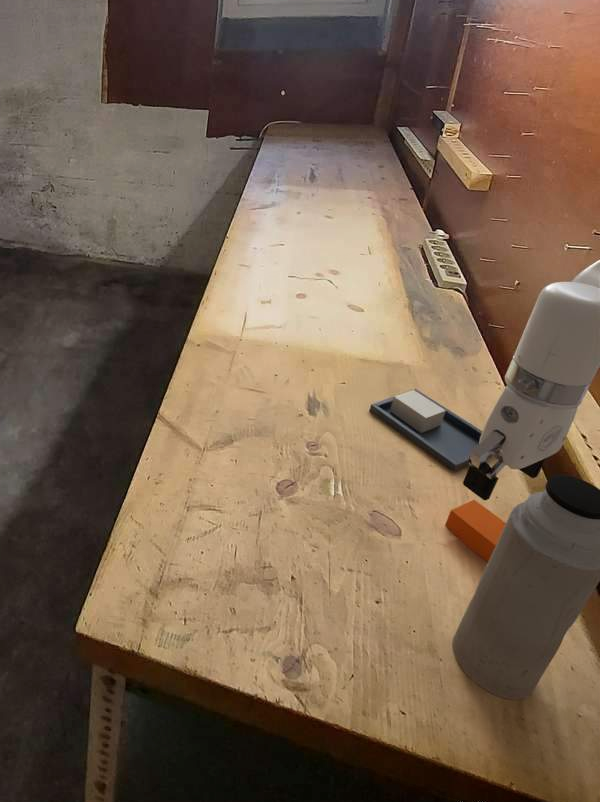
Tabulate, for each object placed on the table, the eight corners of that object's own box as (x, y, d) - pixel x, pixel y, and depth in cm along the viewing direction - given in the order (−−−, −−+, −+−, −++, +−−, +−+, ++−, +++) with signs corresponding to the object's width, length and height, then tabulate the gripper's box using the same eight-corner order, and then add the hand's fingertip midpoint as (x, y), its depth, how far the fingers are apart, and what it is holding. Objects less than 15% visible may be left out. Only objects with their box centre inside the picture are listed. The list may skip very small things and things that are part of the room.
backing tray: (412, 396, 110) (415, 388, 109) (500, 453, 96) (503, 444, 95) (368, 412, 106) (370, 404, 105) (452, 474, 92) (456, 465, 91)
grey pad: (408, 404, 107) (413, 389, 106) (440, 425, 102) (446, 410, 100) (389, 411, 106) (393, 396, 104) (421, 433, 100) (426, 418, 99)
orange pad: (467, 515, 85) (474, 499, 83) (512, 550, 80) (520, 533, 78) (444, 526, 83) (450, 510, 82) (488, 563, 78) (496, 546, 76)
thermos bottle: (530, 649, 68) (626, 480, 55) (538, 715, 62) (648, 541, 49) (451, 616, 71) (525, 451, 59) (452, 675, 65) (534, 504, 53)
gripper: (533, 417, 63) (484, 523, 70) (624, 380, 69) (570, 481, 76) (467, 379, 69) (429, 480, 77) (556, 348, 75) (512, 445, 82)
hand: (499, 481), depth 76 cm, fingers open, 9 cm apart
